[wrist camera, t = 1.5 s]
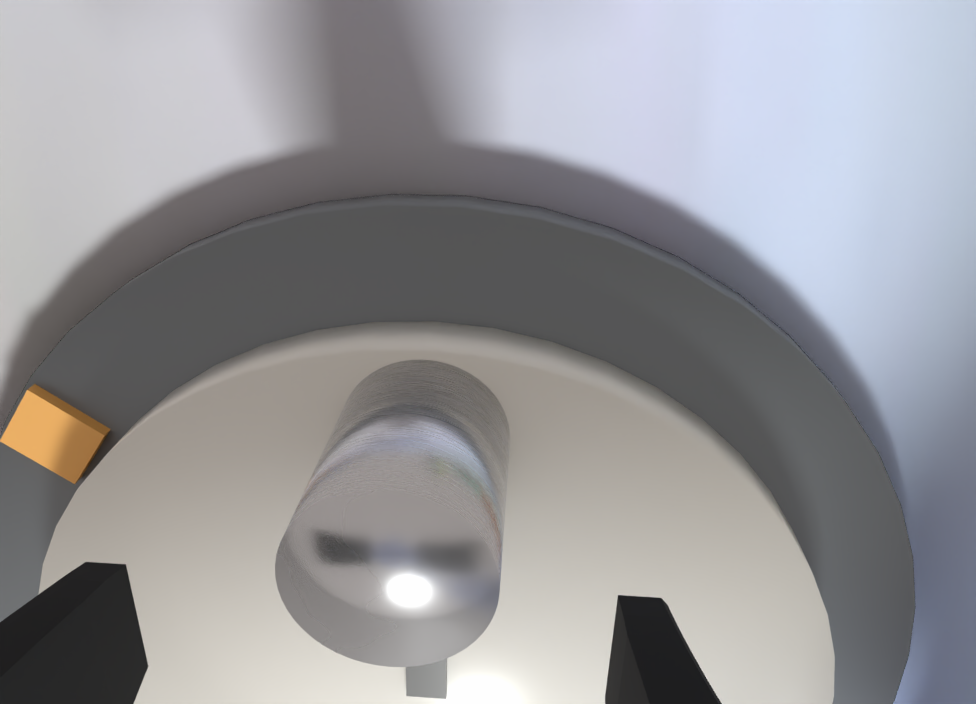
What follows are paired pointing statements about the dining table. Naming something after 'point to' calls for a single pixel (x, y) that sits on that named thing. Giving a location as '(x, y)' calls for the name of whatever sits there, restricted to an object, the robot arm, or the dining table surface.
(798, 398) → the stand base
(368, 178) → the dining table surface
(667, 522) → the dial
